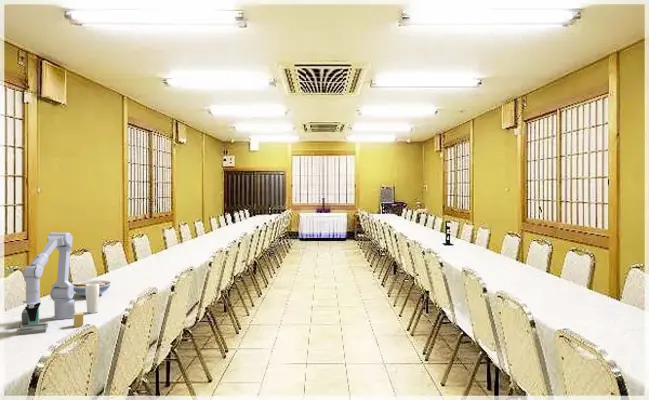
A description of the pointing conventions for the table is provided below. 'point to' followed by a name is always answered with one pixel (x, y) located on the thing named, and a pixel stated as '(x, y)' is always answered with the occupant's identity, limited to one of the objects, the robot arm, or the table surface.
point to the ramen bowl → (80, 286)
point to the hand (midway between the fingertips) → (33, 320)
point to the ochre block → (78, 319)
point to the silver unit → (24, 318)
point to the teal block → (35, 320)
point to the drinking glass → (92, 297)
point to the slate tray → (33, 328)
